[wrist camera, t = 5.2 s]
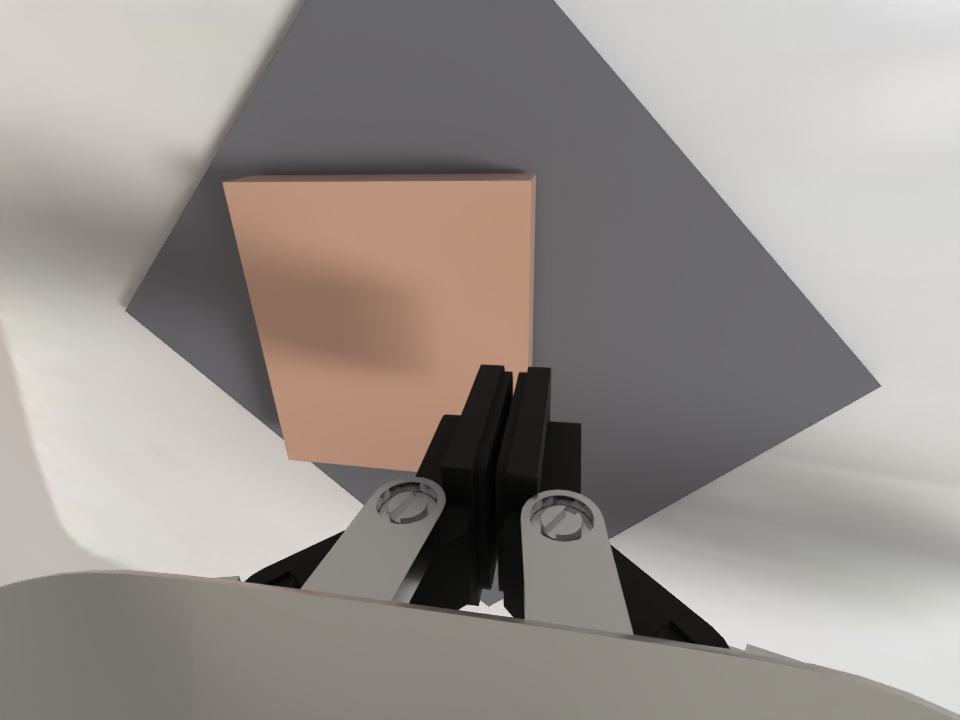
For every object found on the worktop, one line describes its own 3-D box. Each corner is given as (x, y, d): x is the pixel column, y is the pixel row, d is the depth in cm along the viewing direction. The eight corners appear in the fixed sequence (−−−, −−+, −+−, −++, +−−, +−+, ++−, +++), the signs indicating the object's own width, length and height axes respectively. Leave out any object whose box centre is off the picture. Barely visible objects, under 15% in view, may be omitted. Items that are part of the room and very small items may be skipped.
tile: (536, 172, 15) (258, 174, 17) (531, 180, 13) (222, 182, 15) (531, 449, 19) (312, 431, 21) (525, 482, 18) (288, 459, 19)
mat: (135, 306, 20) (124, 310, 20) (414, -162, 13) (407, -172, 12) (490, 597, 24) (488, 606, 24) (873, 378, 16) (881, 386, 16)
